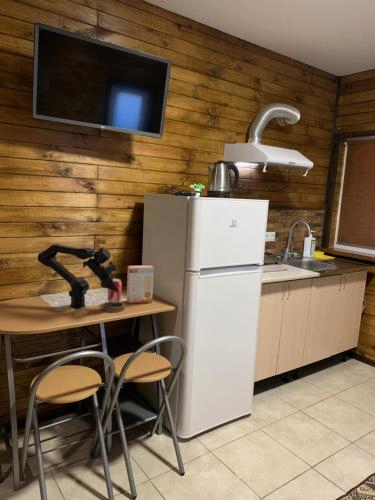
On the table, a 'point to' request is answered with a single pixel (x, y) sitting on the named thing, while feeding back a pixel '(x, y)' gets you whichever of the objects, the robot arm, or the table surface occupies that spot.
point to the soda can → (113, 295)
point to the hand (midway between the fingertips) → (117, 289)
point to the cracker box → (140, 284)
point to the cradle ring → (118, 308)
